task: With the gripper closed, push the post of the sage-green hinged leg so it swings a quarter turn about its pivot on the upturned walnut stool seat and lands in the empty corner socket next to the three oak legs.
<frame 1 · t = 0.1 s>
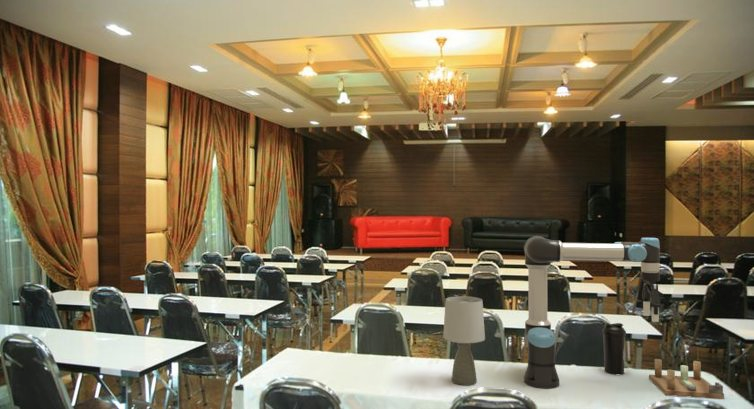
hand: (650, 318, 242), 28 cm above the table, fingers open, 13 cm apart
water bottle: (614, 372, 253), on the table
lamp: (464, 381, 240), on the table
hinged leg: (688, 377, 226), point 6 cm above the table, hinge at 90.0°
stool seat: (684, 388, 230), on the table
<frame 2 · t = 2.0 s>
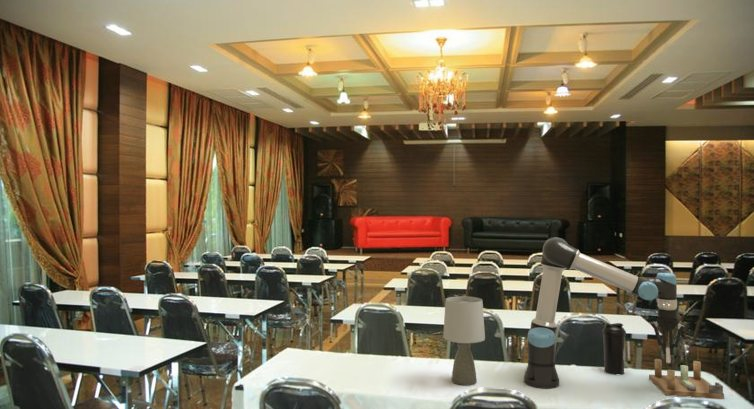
hand: (668, 362, 234), 10 cm above the table, fingers closed
nothing on the table moved.
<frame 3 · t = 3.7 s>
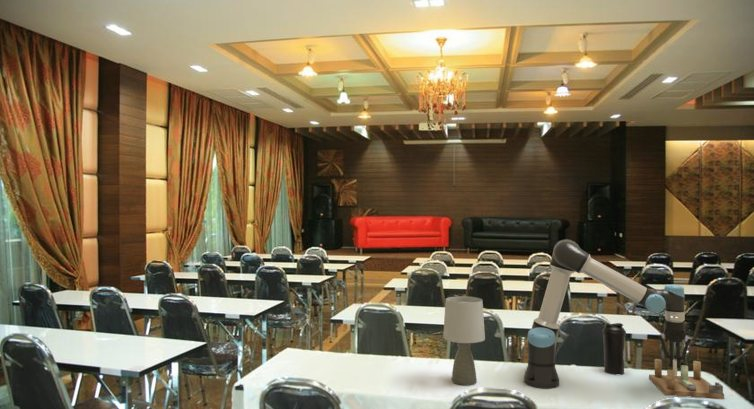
hand: (675, 374, 232), 5 cm above the table, fingers closed
hinged leg: (688, 377, 226), point 6 cm above the table, hinge at 90.0°, touching gripper
everything else where it was.
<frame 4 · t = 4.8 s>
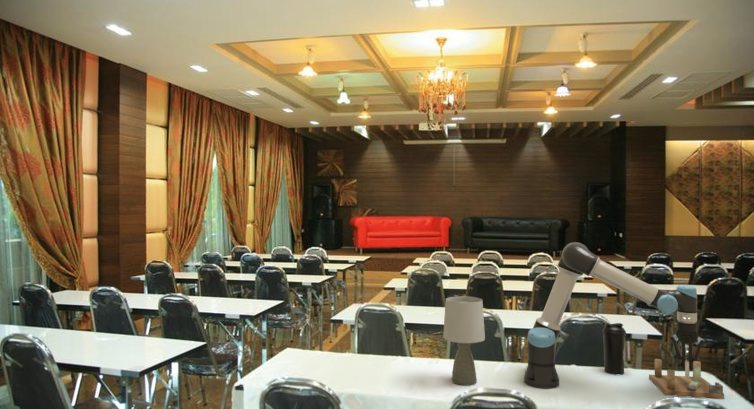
hand: (687, 376, 230), 5 cm above the table, fingers closed
hinged leg: (694, 378, 225), point 6 cm above the table, hinge at 56.6°, touching gripper
everything else where it was.
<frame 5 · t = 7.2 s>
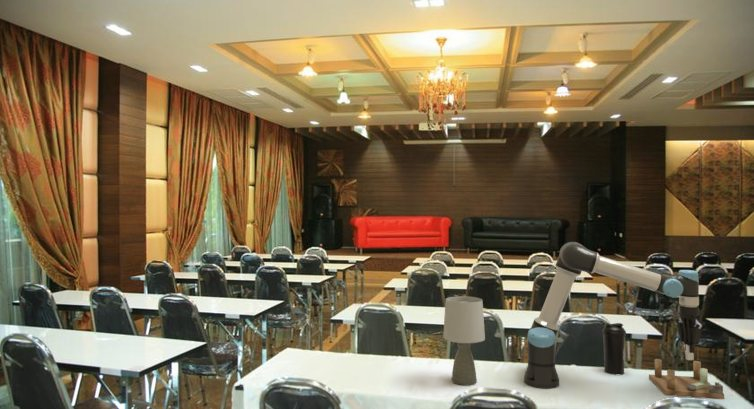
hand: (689, 359, 233), 12 cm above the table, fingers closed
hinged leg: (697, 379, 224), point 6 cm above the table, hinge at 36.8°
everything else where it was.
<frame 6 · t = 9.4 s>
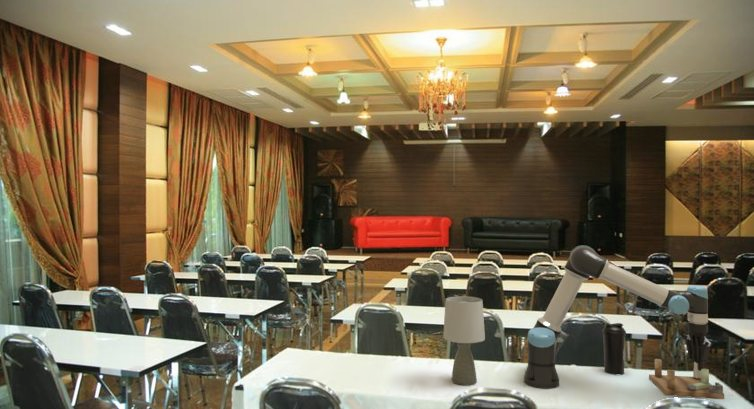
hand: (697, 377, 229), 5 cm above the table, fingers closed
hinged leg: (698, 379, 224), point 6 cm above the table, hinge at 32.4°, touching gripper
everything else where it was.
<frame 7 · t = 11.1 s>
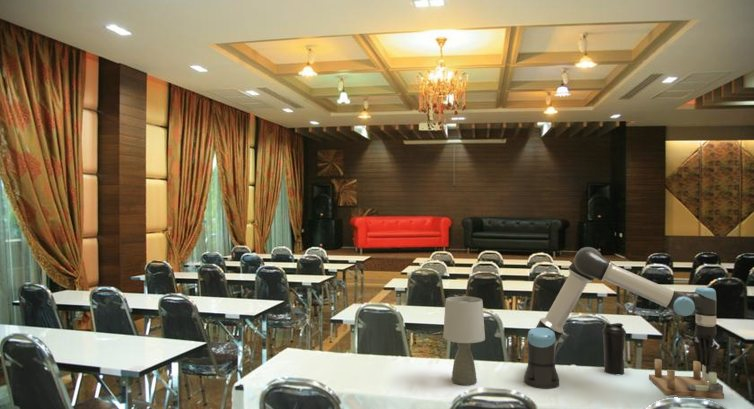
hand: (706, 380, 225), 5 cm above the table, fingers closed
hinged leg: (701, 381, 222), point 6 cm above the table, hinge at -0.2°, touching gripper
everything else where it was.
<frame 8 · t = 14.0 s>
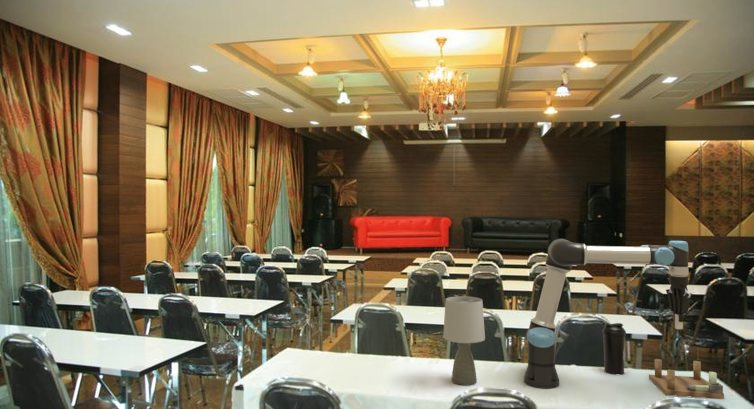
hand: (678, 328, 236), 24 cm above the table, fingers closed
hinged leg: (701, 381, 222), point 6 cm above the table, hinge at -0.3°
everything else where it was.
at the end: hinged leg at +0° (first picture: +90°) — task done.
